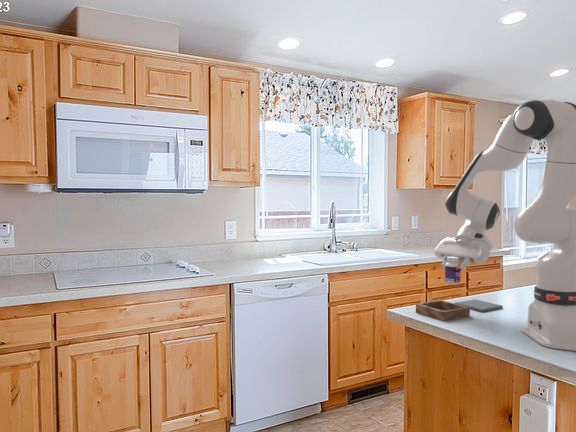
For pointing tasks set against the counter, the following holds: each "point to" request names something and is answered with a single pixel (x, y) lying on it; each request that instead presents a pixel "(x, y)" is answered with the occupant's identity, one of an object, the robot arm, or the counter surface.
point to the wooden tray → (451, 313)
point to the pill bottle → (452, 271)
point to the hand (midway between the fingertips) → (451, 267)
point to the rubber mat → (479, 305)
